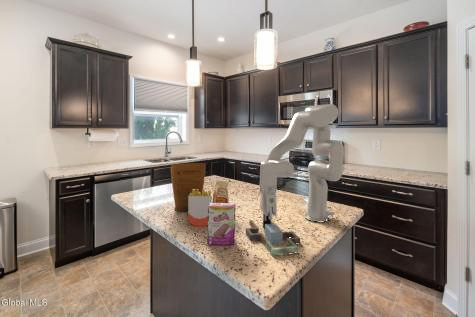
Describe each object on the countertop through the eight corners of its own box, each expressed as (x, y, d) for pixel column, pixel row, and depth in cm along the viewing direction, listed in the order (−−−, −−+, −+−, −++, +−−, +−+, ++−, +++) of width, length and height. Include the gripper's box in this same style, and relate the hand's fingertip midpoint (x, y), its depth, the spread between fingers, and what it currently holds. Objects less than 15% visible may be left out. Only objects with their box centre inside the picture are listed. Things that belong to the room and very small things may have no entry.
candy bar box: (207, 245, 97) (207, 206, 95) (208, 240, 102) (208, 202, 100) (235, 245, 97) (235, 206, 95) (234, 240, 102) (235, 202, 100)
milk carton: (214, 219, 127) (214, 181, 125) (211, 213, 136) (211, 178, 134) (230, 217, 129) (231, 181, 127) (227, 212, 138) (227, 177, 136)
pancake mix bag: (205, 212, 137) (205, 163, 134) (170, 212, 135) (170, 163, 132) (205, 208, 144) (205, 162, 141) (172, 209, 142) (172, 161, 139)
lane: (277, 222, 123) (277, 218, 123) (308, 252, 93) (308, 246, 92) (240, 225, 119) (240, 220, 118) (260, 257, 88) (260, 250, 88)
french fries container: (190, 222, 121) (190, 187, 119) (211, 222, 122) (211, 187, 120) (188, 225, 117) (188, 189, 115) (210, 226, 117) (211, 189, 115)
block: (275, 234, 109) (275, 223, 108) (282, 243, 100) (282, 231, 99) (264, 235, 108) (264, 224, 107) (270, 244, 99) (271, 232, 99)
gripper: (282, 192, 102) (280, 234, 104) (270, 185, 116) (268, 221, 118) (265, 193, 100) (264, 235, 102) (255, 185, 115) (254, 222, 117)
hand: (266, 228), depth 110 cm, fingers closed
